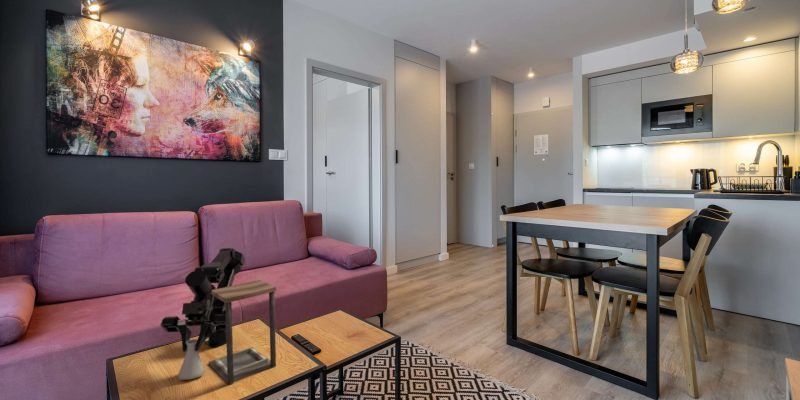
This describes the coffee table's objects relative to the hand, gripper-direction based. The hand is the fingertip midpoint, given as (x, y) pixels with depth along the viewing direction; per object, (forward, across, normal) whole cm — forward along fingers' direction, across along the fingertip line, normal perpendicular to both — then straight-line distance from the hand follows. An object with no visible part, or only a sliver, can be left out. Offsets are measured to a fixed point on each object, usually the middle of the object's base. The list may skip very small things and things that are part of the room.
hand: (190, 351), depth 107 cm
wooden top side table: (+2, +13, +10) cm, 16 cm away
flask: (+5, 0, +6) cm, 8 cm away
